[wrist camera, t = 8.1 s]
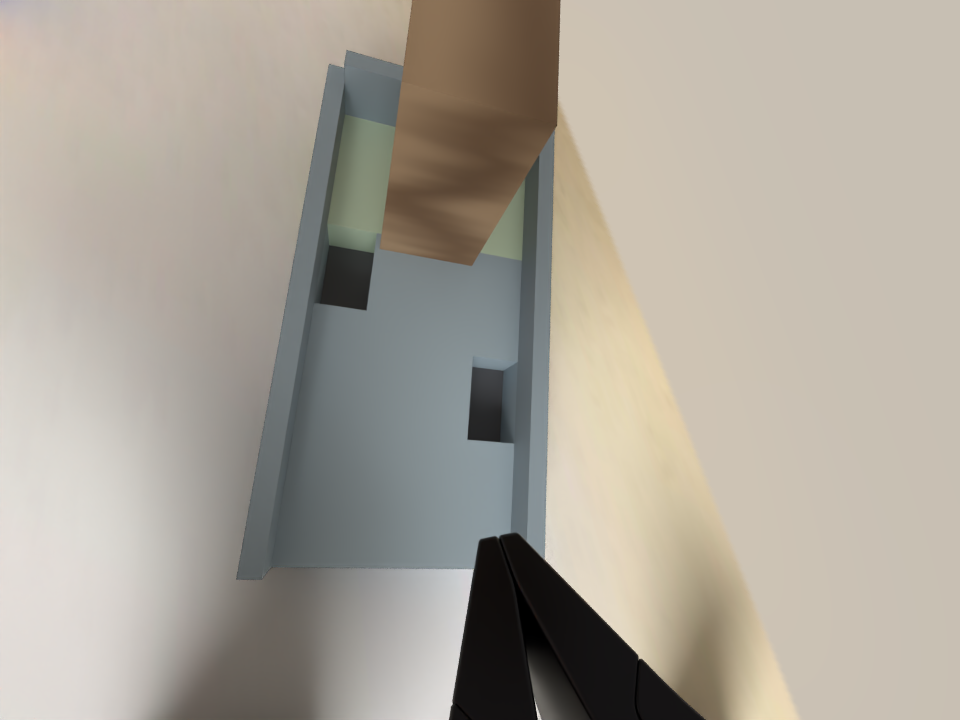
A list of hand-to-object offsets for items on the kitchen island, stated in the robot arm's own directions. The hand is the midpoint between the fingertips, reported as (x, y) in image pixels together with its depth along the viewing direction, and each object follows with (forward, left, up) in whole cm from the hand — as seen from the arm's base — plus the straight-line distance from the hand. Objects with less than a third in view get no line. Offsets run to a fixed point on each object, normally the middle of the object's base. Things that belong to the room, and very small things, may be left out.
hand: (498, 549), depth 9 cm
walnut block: (-1, +15, -11) cm, 19 cm away
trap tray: (-1, +8, -13) cm, 16 cm away
